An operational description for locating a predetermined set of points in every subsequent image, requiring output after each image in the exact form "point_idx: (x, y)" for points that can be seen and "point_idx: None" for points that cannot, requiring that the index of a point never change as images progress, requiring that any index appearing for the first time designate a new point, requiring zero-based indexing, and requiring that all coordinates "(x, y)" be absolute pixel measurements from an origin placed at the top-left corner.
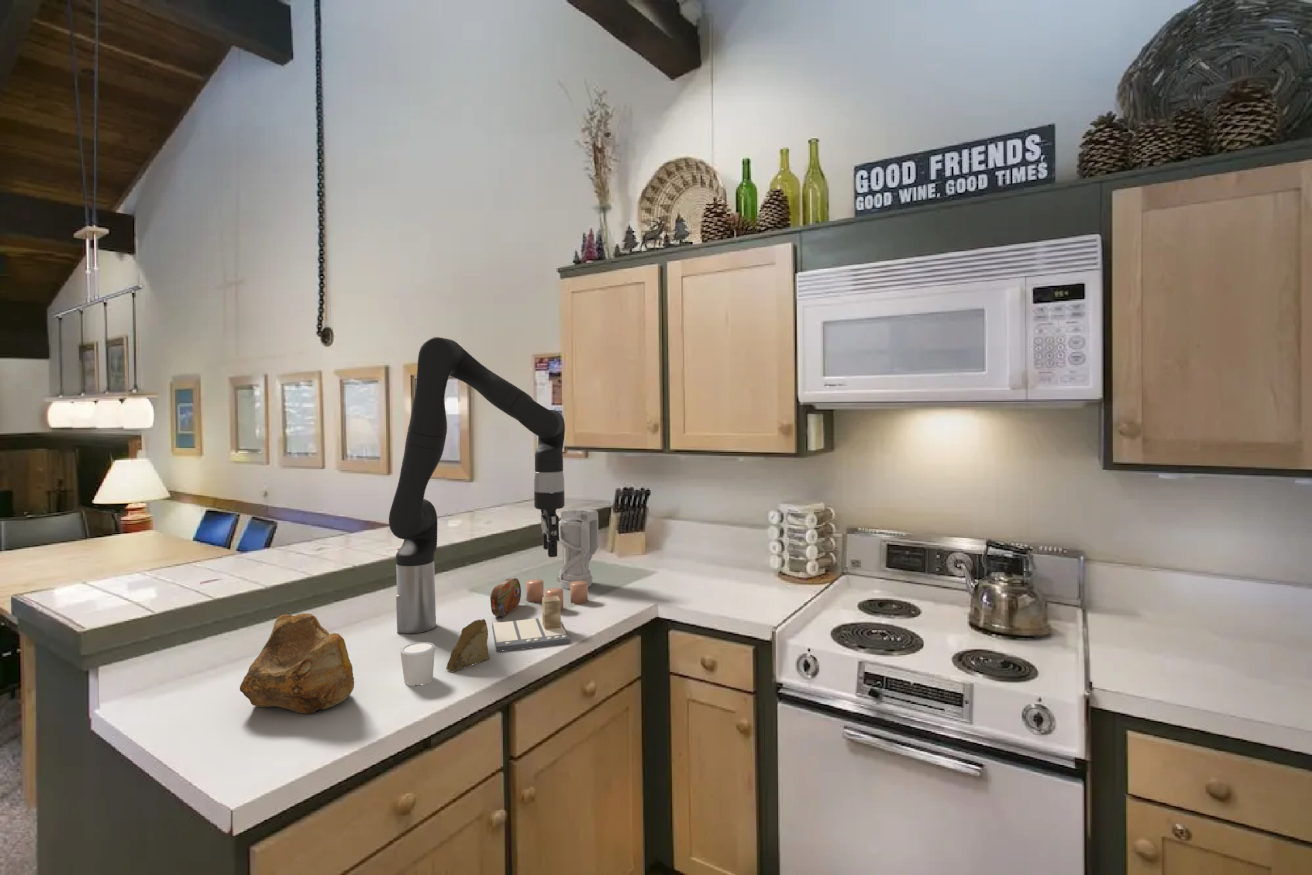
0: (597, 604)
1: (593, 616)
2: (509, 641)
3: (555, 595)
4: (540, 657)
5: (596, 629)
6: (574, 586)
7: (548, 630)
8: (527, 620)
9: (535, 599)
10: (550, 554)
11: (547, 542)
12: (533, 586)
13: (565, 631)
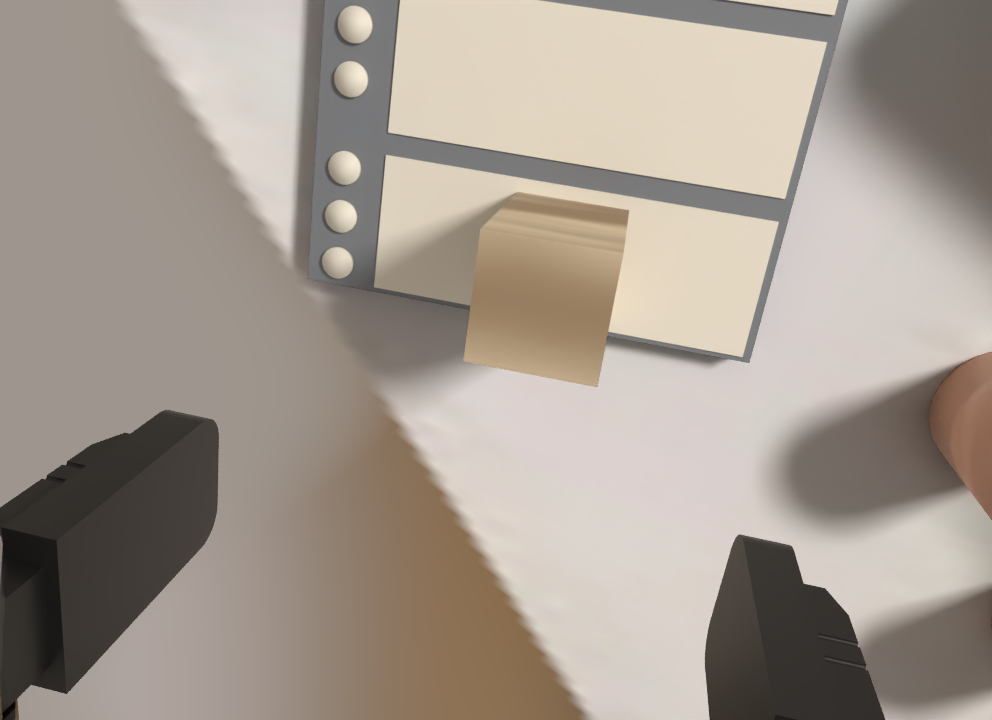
0: (909, 681)
1: (693, 565)
2: None
3: (980, 457)
4: (167, 44)
5: (464, 486)
6: None
7: (488, 207)
8: (776, 131)
9: None
10: (112, 440)
11: (736, 665)
12: None
13: (426, 300)
